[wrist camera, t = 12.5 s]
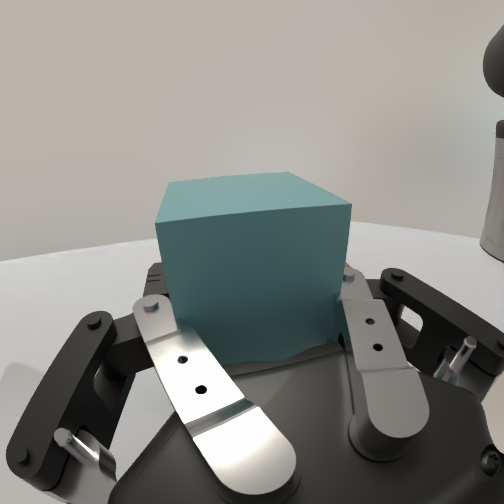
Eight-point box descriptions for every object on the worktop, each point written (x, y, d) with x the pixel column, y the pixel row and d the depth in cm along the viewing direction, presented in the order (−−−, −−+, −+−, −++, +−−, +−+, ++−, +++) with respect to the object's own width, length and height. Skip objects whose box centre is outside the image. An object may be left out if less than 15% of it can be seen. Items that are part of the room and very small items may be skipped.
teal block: (283, 344, 16) (288, 172, 11) (313, 411, 11) (351, 203, 7) (199, 359, 15) (169, 182, 10) (210, 432, 10) (155, 223, 6)
